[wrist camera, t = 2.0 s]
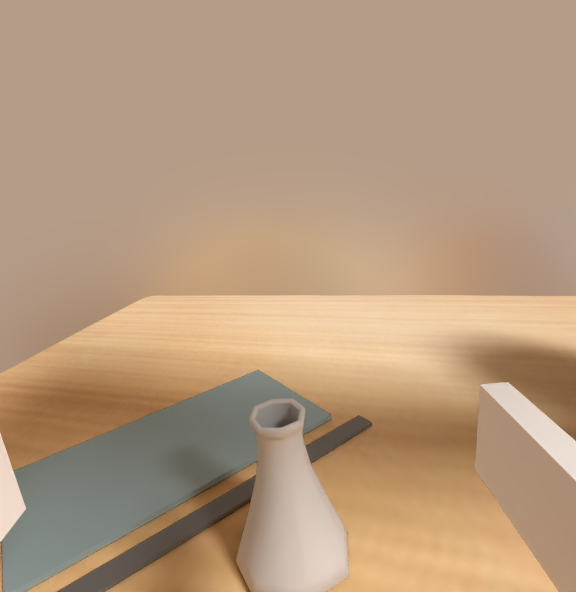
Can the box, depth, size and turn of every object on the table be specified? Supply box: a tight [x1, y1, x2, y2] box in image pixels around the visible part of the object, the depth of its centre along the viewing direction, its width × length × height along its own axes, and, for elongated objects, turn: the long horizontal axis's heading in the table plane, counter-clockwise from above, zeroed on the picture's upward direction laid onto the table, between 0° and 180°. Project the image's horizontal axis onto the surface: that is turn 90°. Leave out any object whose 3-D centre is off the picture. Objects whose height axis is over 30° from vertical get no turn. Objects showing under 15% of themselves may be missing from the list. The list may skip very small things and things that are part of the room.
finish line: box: [58, 415, 372, 592], centre depth 28 cm, size 30×2×1 cm, turn 127°
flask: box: [236, 398, 349, 592], centre depth 23 cm, size 7×7×10 cm
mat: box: [2, 370, 331, 592], centre depth 35 cm, size 26×13×1 cm, turn 127°
